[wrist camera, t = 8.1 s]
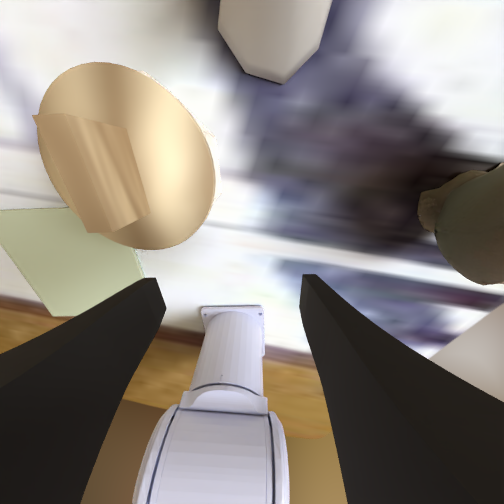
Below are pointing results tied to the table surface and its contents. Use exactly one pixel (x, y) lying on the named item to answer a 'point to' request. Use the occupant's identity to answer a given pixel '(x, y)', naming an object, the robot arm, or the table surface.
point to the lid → (125, 156)
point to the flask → (273, 34)
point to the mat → (66, 259)
